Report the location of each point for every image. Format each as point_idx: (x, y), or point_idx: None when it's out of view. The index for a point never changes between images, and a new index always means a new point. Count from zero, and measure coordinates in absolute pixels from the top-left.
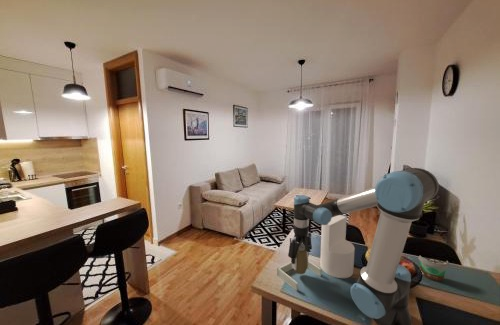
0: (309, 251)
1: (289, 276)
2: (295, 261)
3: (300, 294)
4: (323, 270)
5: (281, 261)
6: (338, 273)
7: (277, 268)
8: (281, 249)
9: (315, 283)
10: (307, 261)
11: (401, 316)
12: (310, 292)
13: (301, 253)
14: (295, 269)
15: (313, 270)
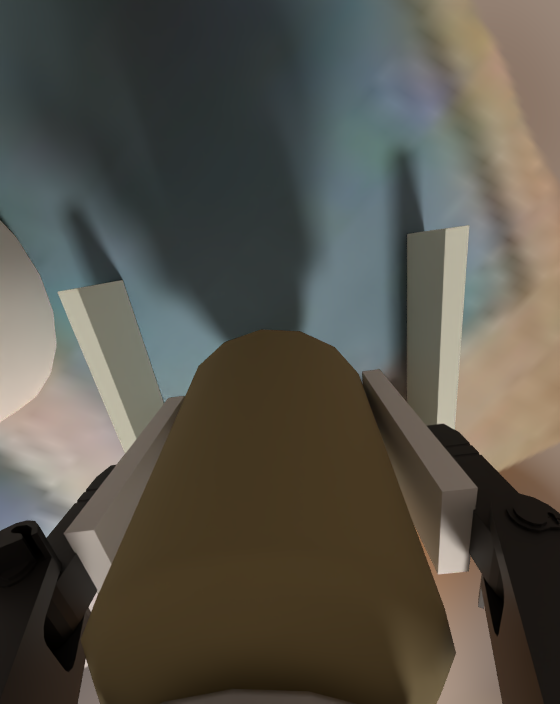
0: (19, 546)
1: (443, 348)
2: (437, 442)
3: (423, 181)
4: (51, 323)
5: None
6: None
7: None
8: None
9: (215, 229)
10: (186, 394)
11: None
12: (329, 156)
13: (365, 586)
14: (382, 373)
15: (139, 353)
